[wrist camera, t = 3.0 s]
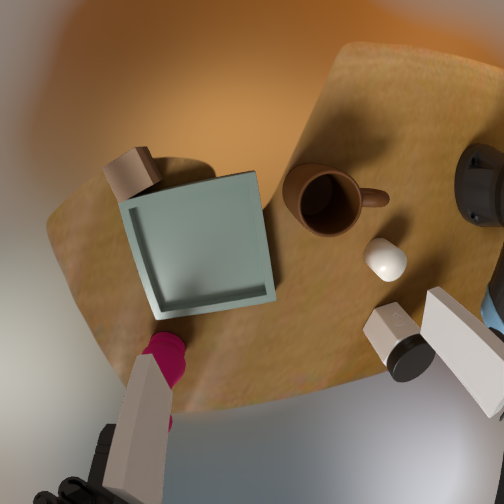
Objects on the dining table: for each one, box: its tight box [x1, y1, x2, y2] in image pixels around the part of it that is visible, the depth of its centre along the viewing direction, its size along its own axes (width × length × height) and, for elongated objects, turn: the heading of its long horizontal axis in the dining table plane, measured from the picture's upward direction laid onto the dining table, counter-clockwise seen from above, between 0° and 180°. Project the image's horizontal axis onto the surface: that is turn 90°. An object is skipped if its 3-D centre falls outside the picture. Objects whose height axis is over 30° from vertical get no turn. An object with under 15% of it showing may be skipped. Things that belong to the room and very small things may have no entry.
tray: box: [118, 170, 276, 320], centre depth 38 cm, size 18×18×2 cm
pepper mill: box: [142, 332, 186, 432], centre depth 36 cm, size 7×7×20 cm
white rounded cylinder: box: [364, 238, 407, 282], centre depth 39 cm, size 5×5×5 cm
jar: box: [363, 302, 436, 382], centre depth 41 cm, size 9×8×12 cm
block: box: [102, 147, 163, 204], centre depth 33 cm, size 5×5×5 cm
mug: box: [282, 163, 390, 237], centre depth 33 cm, size 12×8×9 cm, turn 94°
